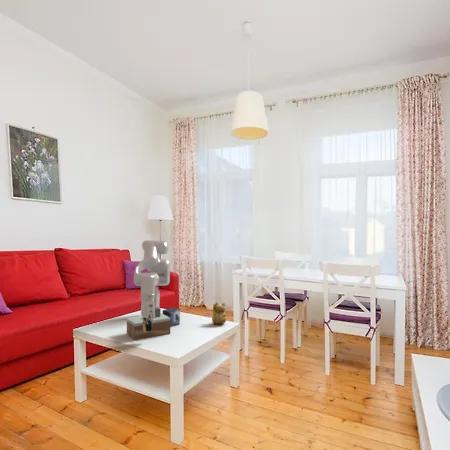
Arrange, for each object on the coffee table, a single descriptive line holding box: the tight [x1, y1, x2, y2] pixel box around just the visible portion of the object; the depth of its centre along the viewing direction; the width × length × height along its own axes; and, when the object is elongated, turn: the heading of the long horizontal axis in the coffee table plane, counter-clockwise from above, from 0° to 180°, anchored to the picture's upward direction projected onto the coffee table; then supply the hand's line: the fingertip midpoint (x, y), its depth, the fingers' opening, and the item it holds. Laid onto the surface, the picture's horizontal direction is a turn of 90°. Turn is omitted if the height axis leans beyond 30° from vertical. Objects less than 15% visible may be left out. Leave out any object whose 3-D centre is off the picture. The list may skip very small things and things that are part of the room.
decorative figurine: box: [211, 300, 227, 326], centre depth 216 cm, size 10×8×15 cm
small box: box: [162, 307, 181, 328], centre depth 212 cm, size 11×6×10 cm, turn 143°
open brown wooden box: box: [126, 320, 171, 341], centre depth 194 cm, size 14×22×8 cm, turn 125°
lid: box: [126, 307, 170, 326], centre depth 195 cm, size 14×22×6 cm, turn 127°
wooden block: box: [143, 319, 152, 332], centre depth 180 cm, size 4×4×6 cm
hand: (147, 329), depth 180 cm, fingers closed on wooden block, 4 cm apart
